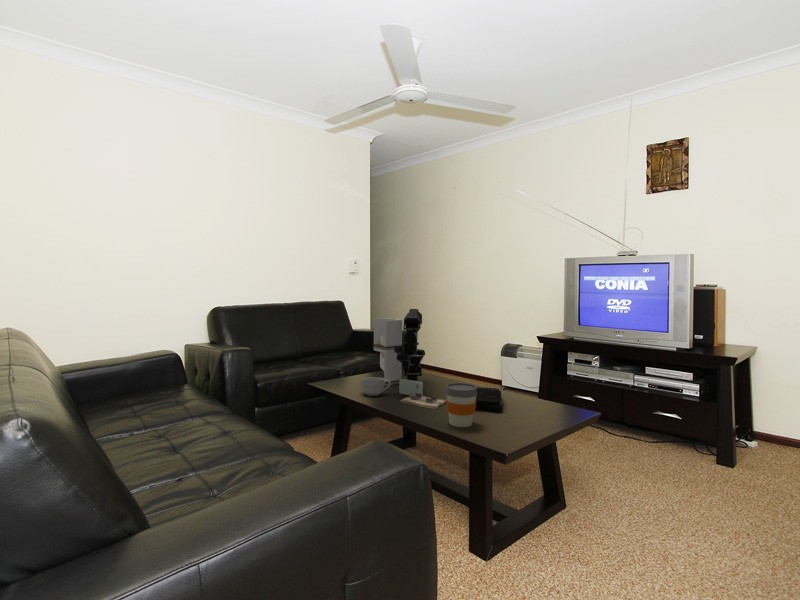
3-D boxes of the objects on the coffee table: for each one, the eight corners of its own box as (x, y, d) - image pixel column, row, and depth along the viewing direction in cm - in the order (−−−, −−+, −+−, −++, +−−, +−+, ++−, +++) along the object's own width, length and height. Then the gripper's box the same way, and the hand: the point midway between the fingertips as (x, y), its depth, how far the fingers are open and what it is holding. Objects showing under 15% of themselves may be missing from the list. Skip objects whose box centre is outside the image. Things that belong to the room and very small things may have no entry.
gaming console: (502, 414, 189) (502, 398, 189) (456, 411, 193) (457, 395, 193) (501, 398, 215) (501, 384, 215) (460, 395, 219) (461, 381, 219)
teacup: (359, 396, 213) (359, 380, 212) (366, 391, 223) (366, 375, 223) (386, 398, 209) (387, 382, 209) (392, 393, 220) (392, 377, 220)
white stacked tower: (389, 379, 249) (390, 318, 247) (401, 382, 241) (402, 319, 239) (373, 382, 242) (373, 319, 240) (385, 386, 234) (385, 320, 232)
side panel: (413, 396, 214) (413, 390, 213) (446, 402, 204) (446, 396, 204) (400, 402, 203) (400, 395, 203) (435, 409, 194) (435, 402, 194)
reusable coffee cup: (477, 420, 180) (478, 384, 179) (474, 430, 168) (475, 391, 167) (447, 417, 184) (448, 381, 183) (442, 426, 171) (443, 389, 171)
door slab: (401, 392, 222) (401, 378, 221) (422, 396, 216) (422, 382, 215) (398, 393, 219) (398, 380, 219) (419, 397, 213) (419, 383, 213)
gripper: (407, 337, 228) (406, 366, 229) (387, 341, 212) (387, 373, 213) (425, 339, 223) (425, 369, 223) (407, 343, 207) (406, 376, 208)
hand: (410, 371), depth 217 cm, fingers open, 9 cm apart
